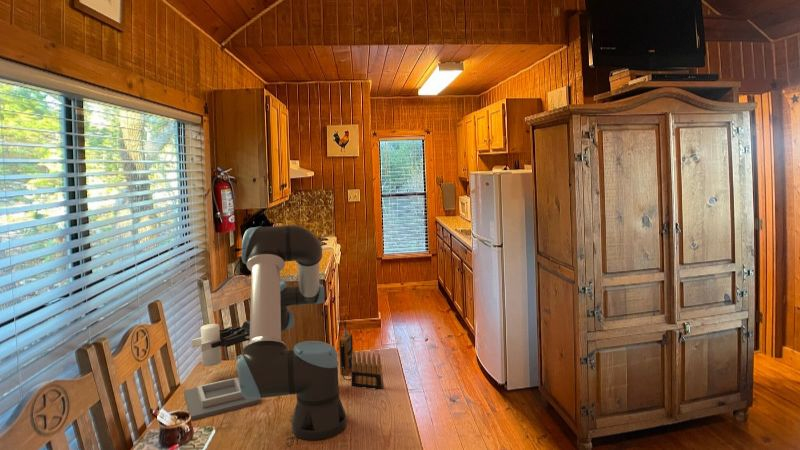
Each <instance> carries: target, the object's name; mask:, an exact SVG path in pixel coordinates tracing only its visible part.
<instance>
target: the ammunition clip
mask: <svg viewBox="0 0 800 450" xmlns="http://www.w3.org/2000/svg"><path fill="white" fill-rule="evenodd" d="M356 355H357V356H356ZM376 357H377V358H376ZM382 369H383V368H382V358H381V354H380V352H378V353H377V356H376V353H375V352H373V353H372V357H371V353H370V352H367V355H366V353H365V351H363V352H362V355H361V352H360V351H359V350H358V351H357V354H356V352H355V350H353V354H352V370H351V387H353V386H355V388H361V387H366V388H365V389H369V388H375V389H374V390H378V389H382V388H383V389H384V377H383V371H382ZM383 389H382V390H383Z"/></svg>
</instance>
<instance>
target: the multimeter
mask: <svg viewBox="0 0 800 450" xmlns="http://www.w3.org/2000/svg"><path fill="white" fill-rule="evenodd" d="M346 317H347V318H348V319H350V317H349V315H348V314H345V315H344V316H343V319H340V320H339V324H338V325H339V327H338V330H339V331H338V333H339V334H338V335H339V340H338V350H339V351H338V353H339V369H340V370H339V371H340V372H339V373H340V375H342V378H343V379H344V380H345V381H350V380H351V381H352V378H349V379H347V378H345V375H346V376H349V374H350V373H351V372H352V354H353V351H354V344H353V333H352V332H351V331H350V330H351V329H350V328H348V331H347V322H346V321H347V320H346ZM342 321H343V323H344V324H343V325H344V329H343V331H344V332H343V334H342V336H341V322H342Z"/></svg>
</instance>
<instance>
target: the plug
mask: <svg viewBox="0 0 800 450" xmlns="http://www.w3.org/2000/svg"><path fill="white" fill-rule="evenodd" d="M219 330H220V324H218V323H208V324H204V325H202V326H200V337H201V342H202V343H205V342H208V341H212V340H215V339H220V331H219ZM221 347H222V346H220V347H217V348H214V349H210V350H207V351H204V352H201V355H202V366H206V367H213V366H217V365H219V364H221V363H222V349H221Z"/></svg>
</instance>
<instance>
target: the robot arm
mask: <svg viewBox="0 0 800 450" xmlns="http://www.w3.org/2000/svg"><path fill="white" fill-rule="evenodd" d="M240 253H241V261H242V263H243V264H245V265H246V267H247V269H248V271H250V273H251V274H250V275H251V277H250V278H251V281H250V308H249V309H250V312H249V313H250V314H249V315H250V319H249V320H245V321H244V322H243V324H242V325H241V326H237V327H236V326H235V327H234V326H229V327H226V328H222V329H221V328H220V329H219V331H220V339H215V340H212V341H208V342H205V343H202V342H201V336H200V337H197V338H193V339H191V340H190V343H191V344H190V345H191V348H192V349H194V348H196V347H198V348H199V347H200V352H201V353H202V352H204V351H207V350H210V349H214V348H217V347H220V346H221V347H225V348H229V347H232V346H235V345H238V344H241V343H243V342H248V341H249V342H248V343H247V344H246V345H244V347H243V350H242V351H243V352H242V353H243V354H239V355H237V357H236V370H237V378H238V379H239V385H240V390H241V393H242V395H243V397H244V398H246V399H260V400H262V399H265V398H272V397H273V398H275V397H283V396H291V395H296V403H295V407H294V411H293V413H292V414H293V415H292V418H291V431H292V433H293V435H294V436H295V437H297V438H299V439H302V440H307V441H319V440H320V441H322V440H326V439H329V438H332V437H334V436H337V435H338V434H340V433H341V432H343V431H344V430H345V429H346V427H347V424H348V423H347V414H346V411H345V409H344V406H343V403H342V400H341V398H340V386H339V385H340V384H339V371H338V367H339V361H338V352H337V350H336V347H334V346H333V345H332V344H330V343H327V342H324V341H320V340H319V341H318V340H305V341H301V342H297V343H296V344H294V347H293V349H290V350H287V344H286V343H285V342H284V341H282V332H284V331H287V330H289V329H291V328H292V327H293V326H294V324H295V321H296V320H295V317H294V314H293V313H294V312H292V311H291V310H290V309H288V307H293V306H307V305H317V304H323V303H324V302H325V286H324V285H323V284H320V261H321V260H322V258H323V247H322V244H321V241H320V240H319V238H318V237H317V236H316V235H315V234H314V233H313V232H312V231H310V230H309V229H307V228H305V227H304V226H299V225H297V224H296V225H295V224H293V225H292V224H290V225H276V226H275V225H274V226H260V225H259V226H255V227H249V228H248V229H246V230H245V232H244V234H243V237H242V241H241V252H240ZM286 262H296V263H297V274H298V275H297V276H298V285H294V286H287V283H286V282H284V281H281V271H283V269H284V268H285V267H286Z"/></svg>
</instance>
